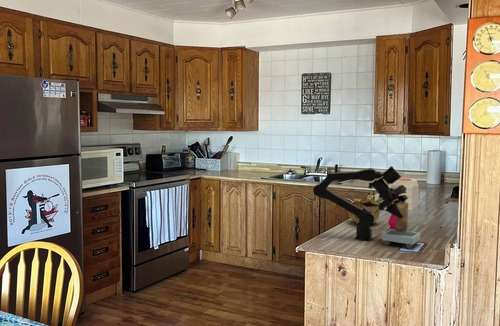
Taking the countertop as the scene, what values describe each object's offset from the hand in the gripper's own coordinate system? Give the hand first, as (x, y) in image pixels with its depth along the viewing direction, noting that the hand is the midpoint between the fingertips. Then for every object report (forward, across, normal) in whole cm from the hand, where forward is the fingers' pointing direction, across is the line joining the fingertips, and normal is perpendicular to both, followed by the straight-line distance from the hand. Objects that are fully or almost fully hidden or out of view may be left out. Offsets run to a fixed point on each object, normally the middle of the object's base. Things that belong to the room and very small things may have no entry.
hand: (404, 217), depth 220 cm
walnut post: (+4, 0, +6) cm, 7 cm away
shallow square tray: (+8, 0, +10) cm, 13 cm away
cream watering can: (-25, +86, +44) cm, 100 cm away
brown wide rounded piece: (-16, +26, +35) cm, 46 cm away
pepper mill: (-2, +22, +20) cm, 30 cm away
